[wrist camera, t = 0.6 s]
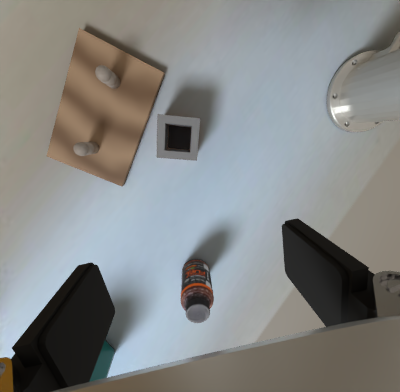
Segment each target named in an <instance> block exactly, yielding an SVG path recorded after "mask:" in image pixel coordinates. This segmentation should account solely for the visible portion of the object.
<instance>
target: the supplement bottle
mask: <svg viewBox="0 0 400 392" xmlns="http://www.w3.org/2000/svg"><path fill="white" fill-rule="evenodd" d="M213 300H214V297H213V290H212V284H211V277H210V271H209V267H208V265H207V264H206V263H205V262H203V261H201V260H191V261H189V262H187V263H186V264H185V265H184V267H183V269H182V283H181V304H182V307H183V308H184V310H185V311H186V317H187V318H188V320H190V321H191V322H194V323H201V322H204V321H205V320H207V319H208V317H209V315H210V308H211V307H212V305H213Z"/></svg>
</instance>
